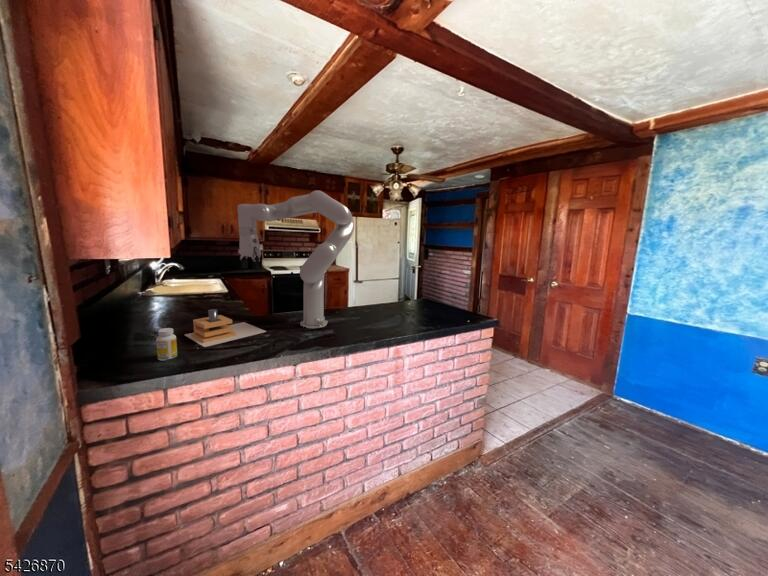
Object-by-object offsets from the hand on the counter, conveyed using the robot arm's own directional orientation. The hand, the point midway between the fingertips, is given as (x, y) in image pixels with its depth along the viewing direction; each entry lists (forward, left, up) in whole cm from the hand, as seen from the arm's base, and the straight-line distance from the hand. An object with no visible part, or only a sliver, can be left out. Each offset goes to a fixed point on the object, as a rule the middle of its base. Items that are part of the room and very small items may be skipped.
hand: (250, 269), depth 145 cm
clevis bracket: (-7, +20, -26) cm, 34 cm away
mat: (-7, +15, -27) cm, 32 cm away
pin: (-7, +20, -25) cm, 33 cm away
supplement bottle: (-17, +40, -27) cm, 51 cm away
